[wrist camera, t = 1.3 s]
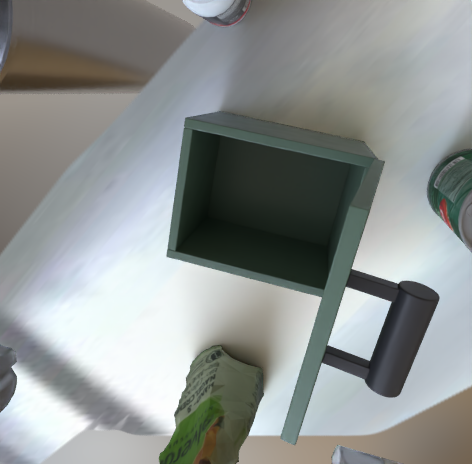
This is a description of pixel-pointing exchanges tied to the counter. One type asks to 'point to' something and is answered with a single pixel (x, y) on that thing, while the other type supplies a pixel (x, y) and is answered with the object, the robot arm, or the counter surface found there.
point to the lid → (393, 331)
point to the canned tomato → (454, 194)
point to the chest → (264, 198)
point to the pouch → (214, 410)
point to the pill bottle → (220, 10)
